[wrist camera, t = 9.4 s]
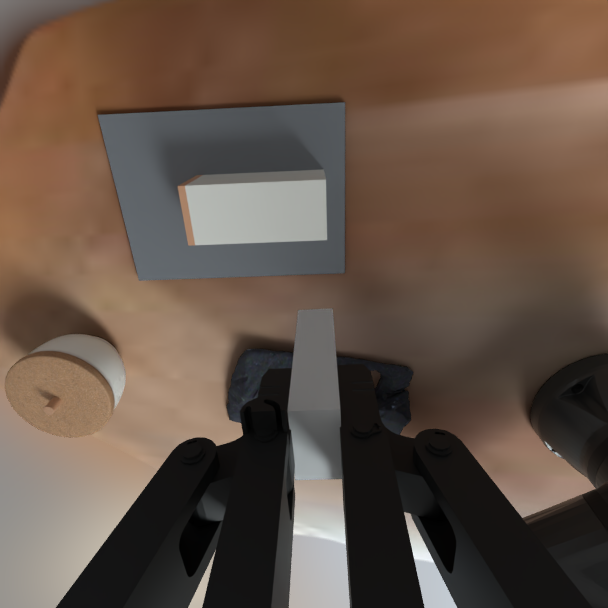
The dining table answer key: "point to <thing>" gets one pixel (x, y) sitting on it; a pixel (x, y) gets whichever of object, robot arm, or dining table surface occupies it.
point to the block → (255, 207)
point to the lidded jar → (67, 385)
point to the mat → (223, 160)
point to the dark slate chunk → (392, 377)
